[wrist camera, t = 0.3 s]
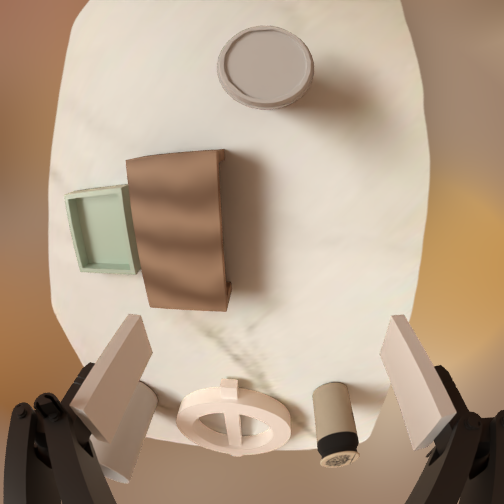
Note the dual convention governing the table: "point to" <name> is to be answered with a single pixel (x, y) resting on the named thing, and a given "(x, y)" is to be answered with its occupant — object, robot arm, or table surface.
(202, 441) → the ring with crossbar
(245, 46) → the disposable coffee cup
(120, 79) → the table surface
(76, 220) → the green tray
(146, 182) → the walnut overhang
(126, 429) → the cylinder vase
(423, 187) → the table surface
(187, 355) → the table surface
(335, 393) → the travel mug
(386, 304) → the table surface
